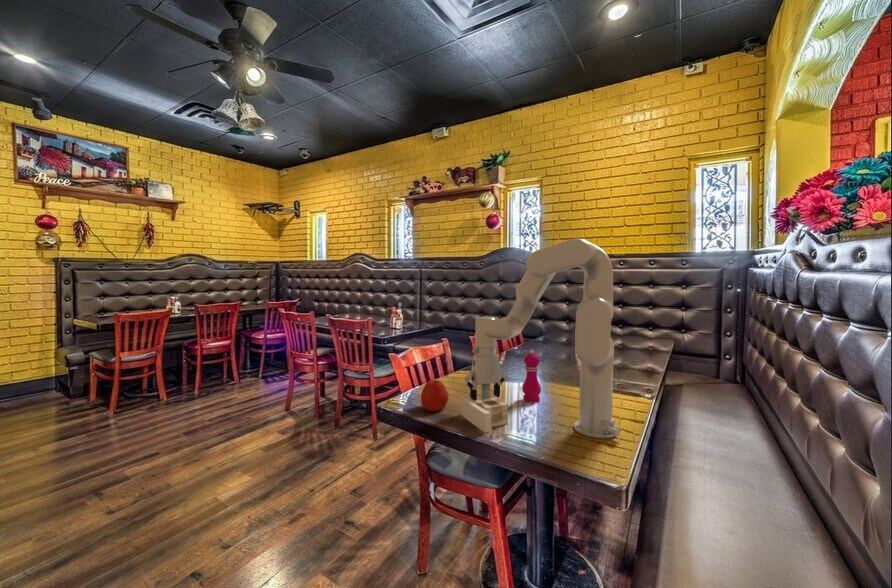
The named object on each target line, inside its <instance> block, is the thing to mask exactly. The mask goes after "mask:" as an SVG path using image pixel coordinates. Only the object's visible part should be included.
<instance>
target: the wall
mask: <svg viewBox="0 0 892 588" xmlns="http://www.w3.org/2000/svg"><path fill="white" fill-rule="evenodd" d="M461 417H462V418H464V419H466V421H468V422H470V423H471V424H472V425H473V426H475V427H477V428H478V429H479V430H480V431H482V432H483V433H484V434H486V433H487V432H488V433H491V432H492V427H491V413H490V412H489V411H487V410H485V409H484V408H482V407H480V406H479V405H477V404H476V403H474V401H472V399H469V398H468V397H465V398H461Z"/></svg>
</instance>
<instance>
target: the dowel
mask: <svg viewBox="0 0 892 588" xmlns="http://www.w3.org/2000/svg"><path fill="white" fill-rule="evenodd" d="M490 384H491V383H490ZM490 384H482V385H481V400H482V399H489V398H491V396H490V395H491V394H490V393H491V392H490V391H491V390H490V389H491V386H490Z"/></svg>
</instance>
